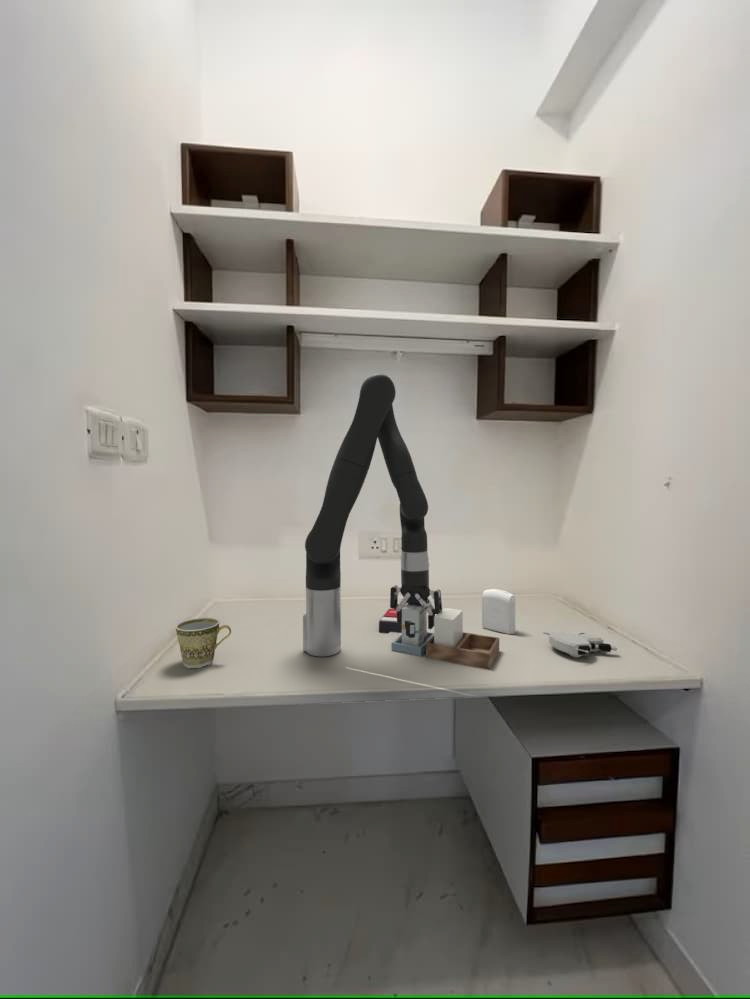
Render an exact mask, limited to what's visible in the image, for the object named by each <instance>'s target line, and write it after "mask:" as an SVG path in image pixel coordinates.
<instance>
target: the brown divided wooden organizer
mask: <svg viewBox="0 0 750 999" xmlns="http://www.w3.org/2000/svg"><path fill="white" fill-rule="evenodd" d="M499 652H500V637H496V636H490V635H483V634H477V633H470V632H463V639H462V641H461V642H460V643H459V644H458V646H457V647H450V646H444V645H438V644H434V636H433V637H432V638H431V639H430V640H429V641H428V642H427V643H426V651H425V657H426V658H429V659H435V660H440V661H444V662H450V663H455V664H461V665H467V666H472V667H476V668H477V667H478V668H482V669H488V670H491V668H492V666H493V665H494V663H495V660H496V658H497V657H498V654H499Z"/></svg>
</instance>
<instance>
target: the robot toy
mask: <svg viewBox="0 0 750 999" xmlns="http://www.w3.org/2000/svg"><path fill="white" fill-rule="evenodd" d="M542 634H544V635H549V637H548V638H549V639H548V643H549V644H550V645H551V646H552V647H553V648H555V649H556V650H558V651H560V652H563V653H566V654H568V655H569V656H570V657H572V658H576V659H577V658H581V657H582V656H589V655H590V654H591V652H592V653H598V652H599V651H602V652H605V653H606V652H609V653H611V651H614V652H617V651H618V647H616V646H613V645H611V644H610V643H605V642H604V639H603V638H600V636H598V635H595V634H593V633H590V632H589V633H587V632H586V633H584V632H580V633H578V635H576V634H573V633H570V632H566V631H552V632H551V633H549V632H545V631H543V632H542Z"/></svg>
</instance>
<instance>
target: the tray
mask: <svg viewBox="0 0 750 999" xmlns="http://www.w3.org/2000/svg"><path fill="white" fill-rule="evenodd" d="M433 636H434V632H430V631H427V640H426V641H425V642H424V643H423V644H422V645H421V646H420V647H417V646H411V645H406V644H402V634H401V635H400V636H398V637H397V638H396V639H394V641H392V642H391V651H393V652H397V653H404V654H406V655H407V654H408V655H414V656H418V657H422V656H423V654H424V653H426V643H427V642H428V641H429V640H430V639H431V638H432V637H433Z"/></svg>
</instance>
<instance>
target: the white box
mask: <svg viewBox="0 0 750 999" xmlns="http://www.w3.org/2000/svg"><path fill="white" fill-rule="evenodd" d="M463 612H464V611H463V610H462V609H455V608H447V607H445V608H442V611H441V612H440V613H438V614H435V617H434V627H433V633H434V644H438V645H444V646H450V647H457V646H458V644H459V643H460V642H461V641H462V639H463V629H464V628H463V626H464V625H463V622H464V621H463V620H464V619H463V618H464V613H463Z"/></svg>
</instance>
